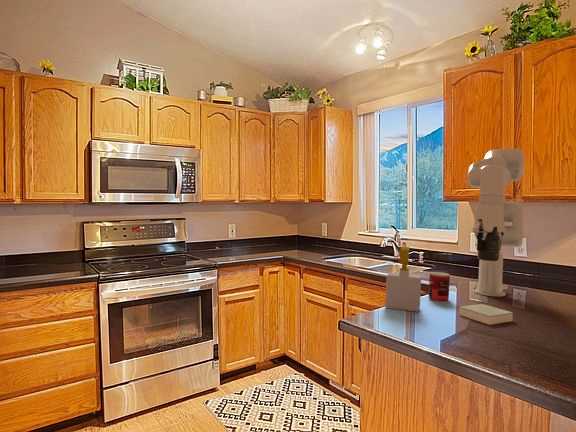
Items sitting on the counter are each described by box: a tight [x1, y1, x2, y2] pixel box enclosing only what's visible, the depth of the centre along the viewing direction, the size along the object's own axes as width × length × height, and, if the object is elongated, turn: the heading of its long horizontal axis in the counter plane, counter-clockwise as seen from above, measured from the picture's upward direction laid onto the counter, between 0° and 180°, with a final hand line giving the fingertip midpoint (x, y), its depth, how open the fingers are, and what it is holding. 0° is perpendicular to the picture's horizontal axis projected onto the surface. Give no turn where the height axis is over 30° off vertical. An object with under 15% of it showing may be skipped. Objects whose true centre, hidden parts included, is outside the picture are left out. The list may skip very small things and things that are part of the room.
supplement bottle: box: [477, 227, 501, 261], centre depth 135 cm, size 7×7×12 cm
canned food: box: [428, 271, 451, 302], centre depth 162 cm, size 8×8×11 cm
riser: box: [458, 303, 514, 325], centre depth 136 cm, size 12×12×3 cm
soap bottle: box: [385, 246, 422, 313], centre depth 145 cm, size 12×7×23 cm, turn 68°
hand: (488, 250), depth 135 cm, fingers closed on supplement bottle, 6 cm apart
